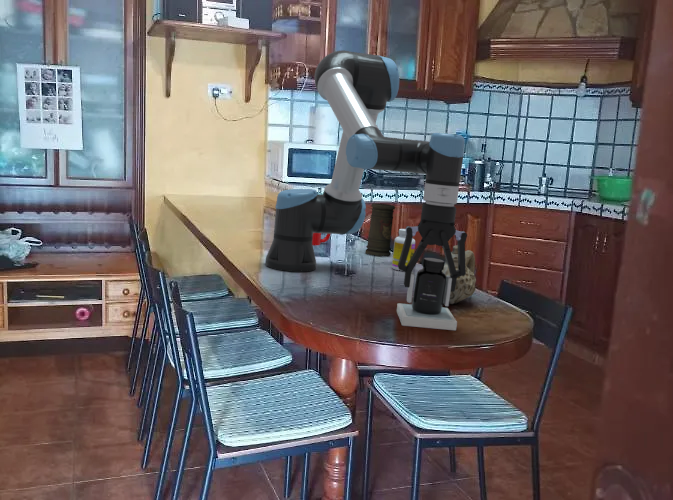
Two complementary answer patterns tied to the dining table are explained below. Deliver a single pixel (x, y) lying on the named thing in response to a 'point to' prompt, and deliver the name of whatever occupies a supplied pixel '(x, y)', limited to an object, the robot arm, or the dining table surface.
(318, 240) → the mug
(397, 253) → the supplement bottle
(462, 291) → the teapot
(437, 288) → the supplement bottle
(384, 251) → the container
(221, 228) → the dining table surface
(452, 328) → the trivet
